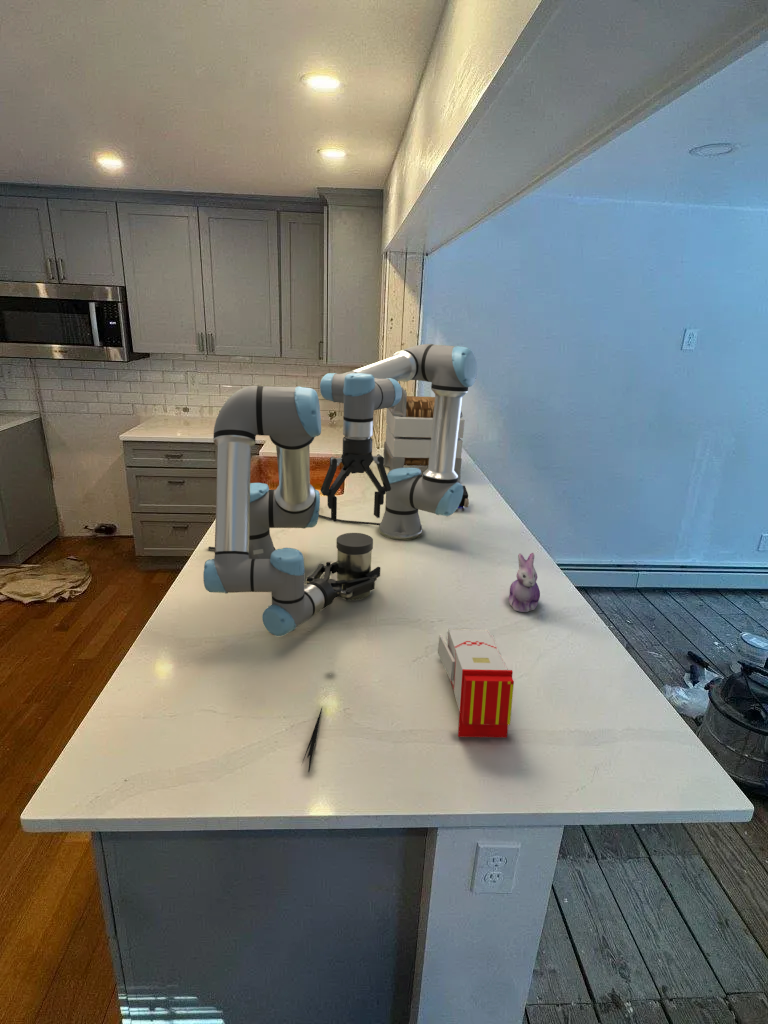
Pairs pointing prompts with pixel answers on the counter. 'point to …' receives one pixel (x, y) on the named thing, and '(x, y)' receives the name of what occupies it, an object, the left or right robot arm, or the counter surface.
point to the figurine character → (464, 499)
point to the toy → (478, 682)
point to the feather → (313, 740)
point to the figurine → (525, 586)
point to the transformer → (413, 433)
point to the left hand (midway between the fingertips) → (362, 566)
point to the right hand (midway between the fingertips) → (355, 517)
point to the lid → (354, 543)
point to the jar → (353, 568)
